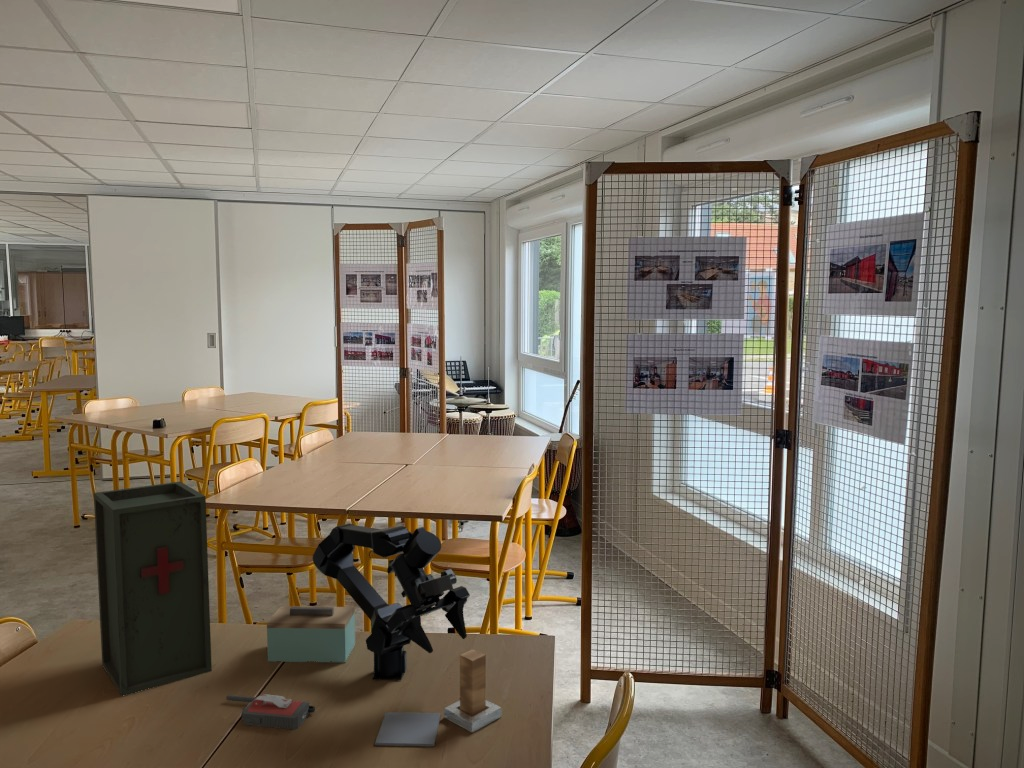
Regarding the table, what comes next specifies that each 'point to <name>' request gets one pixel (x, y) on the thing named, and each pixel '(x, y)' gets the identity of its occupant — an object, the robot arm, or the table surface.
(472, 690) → the tall wooden block
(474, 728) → the white square ring
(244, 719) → the walkie-talkie
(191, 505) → the first aid box
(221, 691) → the table surface
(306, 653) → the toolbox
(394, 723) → the grey square plate
